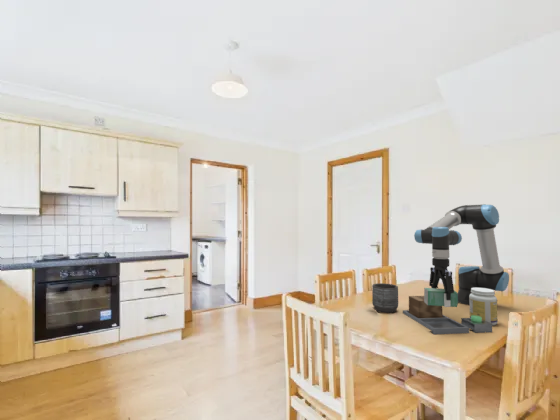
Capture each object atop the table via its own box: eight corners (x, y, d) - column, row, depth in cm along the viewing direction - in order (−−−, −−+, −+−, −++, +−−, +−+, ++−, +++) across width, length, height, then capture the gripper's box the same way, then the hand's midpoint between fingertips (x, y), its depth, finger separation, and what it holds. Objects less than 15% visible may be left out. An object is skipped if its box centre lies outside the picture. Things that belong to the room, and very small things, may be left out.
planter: (399, 309, 179) (398, 284, 179) (397, 316, 166) (397, 289, 166) (374, 306, 185) (374, 282, 185) (370, 313, 172) (370, 287, 172)
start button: (477, 323, 150) (477, 315, 150) (484, 326, 146) (483, 318, 146) (468, 323, 150) (468, 315, 150) (475, 326, 145) (475, 318, 145)
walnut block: (431, 313, 169) (430, 295, 169) (442, 319, 159) (442, 300, 159) (408, 314, 167) (408, 296, 168) (418, 320, 157) (418, 300, 158)
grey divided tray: (432, 313, 171) (432, 309, 171) (469, 333, 142) (469, 327, 142) (402, 314, 170) (402, 310, 170) (434, 334, 141) (433, 328, 141)
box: (458, 307, 144) (458, 291, 145) (427, 305, 147) (427, 290, 147) (452, 303, 152) (452, 288, 152) (423, 302, 154) (423, 287, 155)
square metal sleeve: (478, 325, 152) (478, 317, 153) (492, 332, 144) (492, 323, 144) (461, 326, 152) (461, 318, 152) (474, 332, 143) (474, 324, 143)
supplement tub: (490, 319, 163) (489, 287, 163) (502, 327, 151) (502, 292, 151) (465, 317, 165) (464, 286, 165) (475, 325, 153) (475, 291, 153)
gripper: (421, 255, 160) (421, 298, 160) (447, 261, 139) (448, 310, 138) (434, 255, 161) (435, 298, 160) (462, 260, 140) (463, 310, 139)
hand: (441, 304), depth 149 cm, fingers closed on box, 9 cm apart
